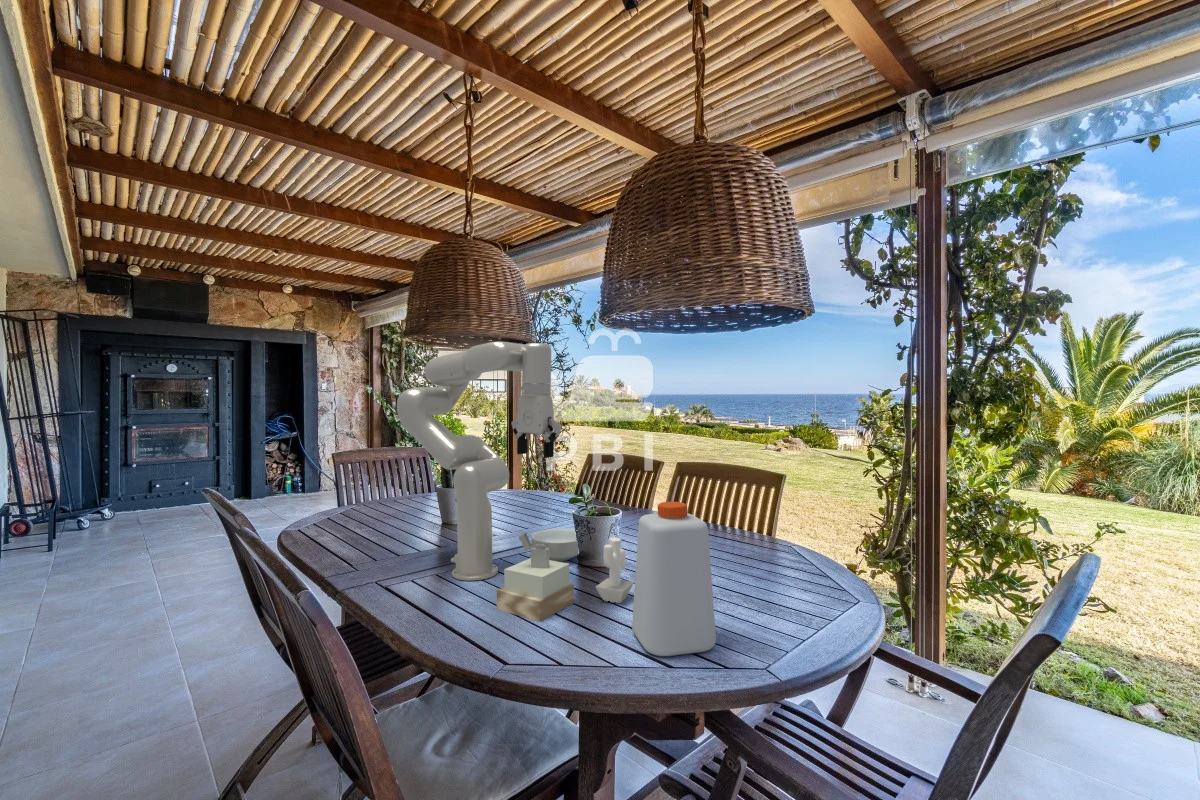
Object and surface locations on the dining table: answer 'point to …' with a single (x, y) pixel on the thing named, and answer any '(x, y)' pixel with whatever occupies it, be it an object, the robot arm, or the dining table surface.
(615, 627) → the dining table surface
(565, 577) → the sage top block
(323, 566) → the dining table surface
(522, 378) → the robot arm
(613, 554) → the figurine
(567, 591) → the birch base block
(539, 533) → the cereal bowl
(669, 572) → the plastic bottle
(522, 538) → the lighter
